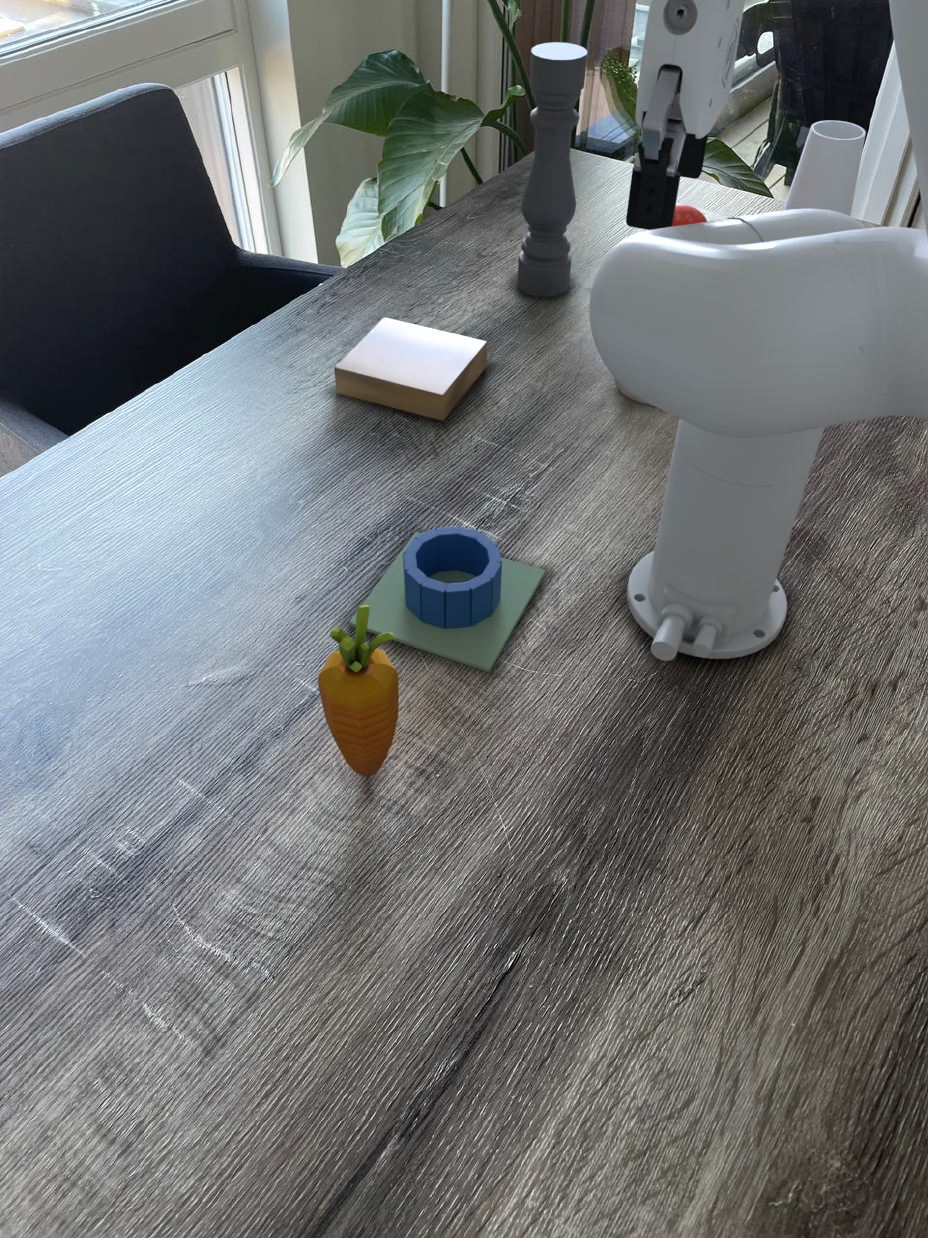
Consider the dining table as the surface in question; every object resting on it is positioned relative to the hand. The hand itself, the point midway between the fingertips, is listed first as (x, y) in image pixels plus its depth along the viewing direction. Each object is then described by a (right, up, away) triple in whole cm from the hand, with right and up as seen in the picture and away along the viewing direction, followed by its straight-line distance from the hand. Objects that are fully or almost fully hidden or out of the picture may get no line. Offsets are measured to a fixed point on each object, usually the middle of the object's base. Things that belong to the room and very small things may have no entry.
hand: (664, 200), depth 73 cm
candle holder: (-5, +9, +45) cm, 46 cm away
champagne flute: (+18, -4, +33) cm, 38 cm away
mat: (-16, -29, +8) cm, 34 cm away
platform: (-20, -6, +30) cm, 37 cm away
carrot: (-21, -42, -4) cm, 47 cm away
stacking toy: (+5, -7, +30) cm, 31 cm away
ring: (-16, -29, +8) cm, 34 cm away
